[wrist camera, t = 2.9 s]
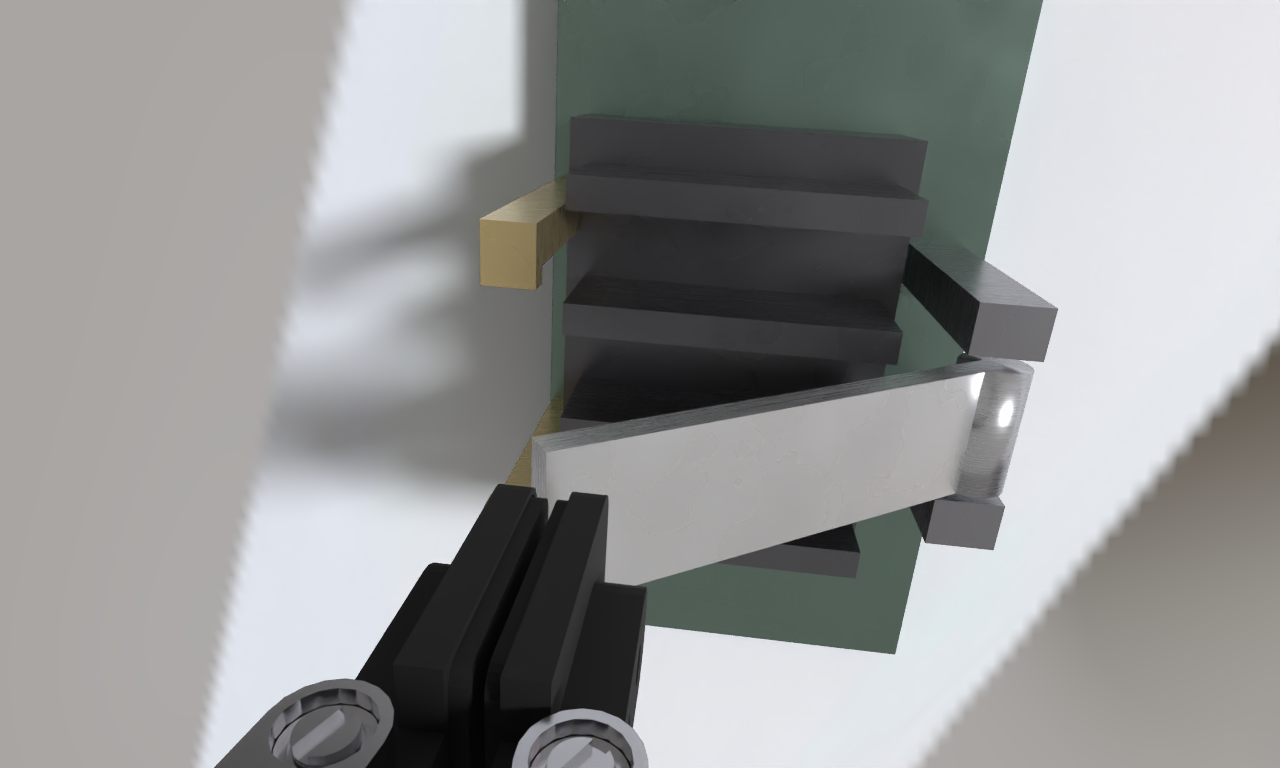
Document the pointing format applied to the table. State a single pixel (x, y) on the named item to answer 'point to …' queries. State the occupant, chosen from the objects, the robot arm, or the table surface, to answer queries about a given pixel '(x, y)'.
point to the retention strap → (786, 463)
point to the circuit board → (776, 251)
